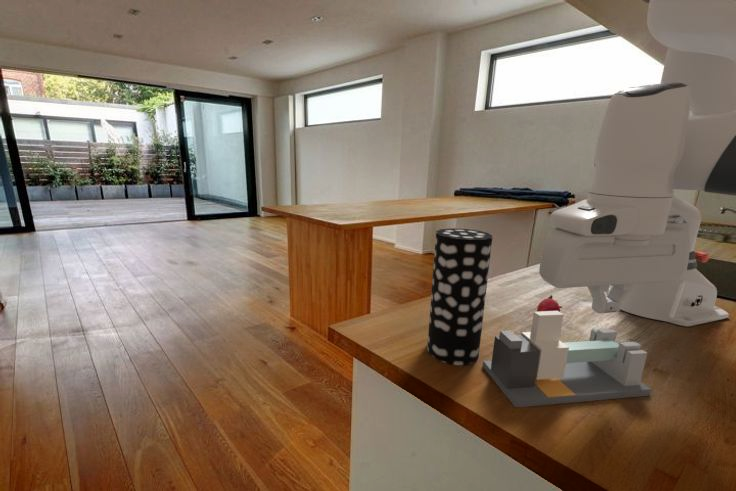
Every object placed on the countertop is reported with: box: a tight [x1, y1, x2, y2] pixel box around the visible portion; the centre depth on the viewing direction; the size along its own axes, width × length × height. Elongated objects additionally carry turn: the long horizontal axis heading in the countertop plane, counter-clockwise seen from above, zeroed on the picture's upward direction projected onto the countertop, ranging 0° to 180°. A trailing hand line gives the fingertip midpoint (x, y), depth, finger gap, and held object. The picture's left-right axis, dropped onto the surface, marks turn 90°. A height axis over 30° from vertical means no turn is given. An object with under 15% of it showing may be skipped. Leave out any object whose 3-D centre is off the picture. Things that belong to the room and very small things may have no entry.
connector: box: [491, 329, 540, 389], centre depth 47 cm, size 4×4×7 cm
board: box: [482, 359, 652, 408], centre depth 49 cm, size 20×9×1 cm, turn 99°
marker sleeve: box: [520, 311, 569, 380], centre depth 47 cm, size 4×5×9 cm
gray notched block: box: [588, 327, 648, 386], centre depth 50 cm, size 2×7×6 cm, turn 9°
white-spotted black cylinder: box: [427, 227, 493, 366], centre depth 54 cm, size 8×8×20 cm
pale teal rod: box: [563, 340, 619, 363], centre depth 48 cm, size 16×2×2 cm, turn 99°
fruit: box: [536, 294, 563, 312], centre depth 68 cm, size 4×6×5 cm
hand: (604, 311), depth 48 cm, fingers closed
